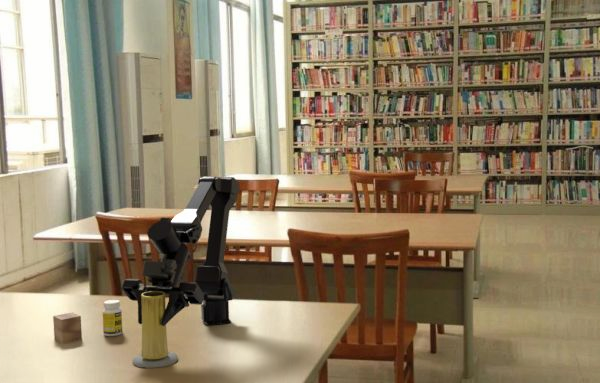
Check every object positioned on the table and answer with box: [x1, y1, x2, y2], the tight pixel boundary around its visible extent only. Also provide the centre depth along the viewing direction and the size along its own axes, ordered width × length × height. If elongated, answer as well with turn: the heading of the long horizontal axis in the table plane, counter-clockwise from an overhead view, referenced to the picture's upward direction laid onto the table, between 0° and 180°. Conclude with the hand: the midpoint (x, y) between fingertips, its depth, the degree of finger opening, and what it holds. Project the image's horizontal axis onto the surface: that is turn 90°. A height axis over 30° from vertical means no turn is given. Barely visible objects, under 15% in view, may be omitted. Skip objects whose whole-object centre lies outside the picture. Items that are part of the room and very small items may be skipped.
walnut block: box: [52, 312, 83, 344], centre depth 186 cm, size 5×5×6 cm
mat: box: [132, 351, 179, 369], centre depth 168 cm, size 10×10×1 cm
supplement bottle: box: [102, 299, 123, 337], centre depth 190 cm, size 5×5×8 cm
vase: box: [141, 291, 170, 360], centre depth 168 cm, size 6×6×14 cm
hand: (151, 324), depth 166 cm, fingers closed on vase, 5 cm apart
